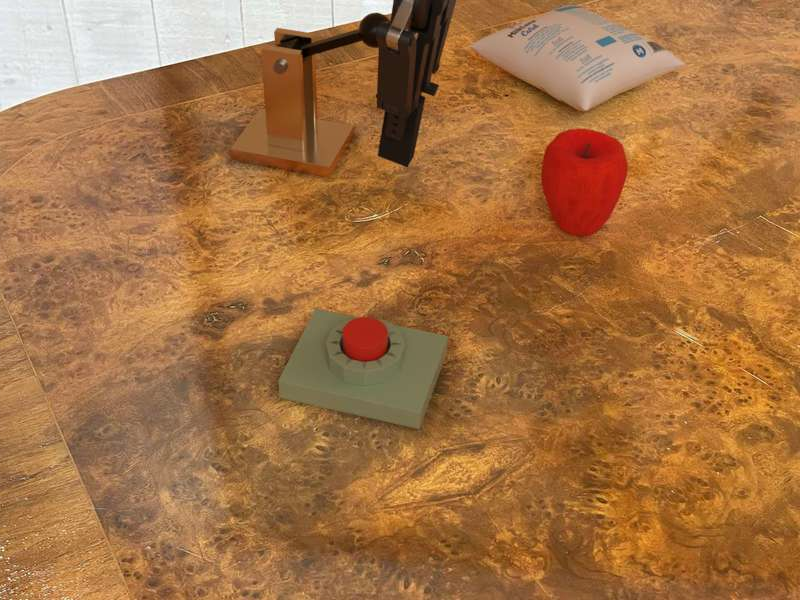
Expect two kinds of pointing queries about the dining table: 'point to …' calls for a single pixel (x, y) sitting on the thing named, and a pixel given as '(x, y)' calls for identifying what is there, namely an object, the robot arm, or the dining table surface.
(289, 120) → the power switch
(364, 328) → the stop button
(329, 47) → the lever
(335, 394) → the stop button block
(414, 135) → the robot arm
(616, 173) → the apple
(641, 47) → the pouch
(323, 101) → the dining table surface
